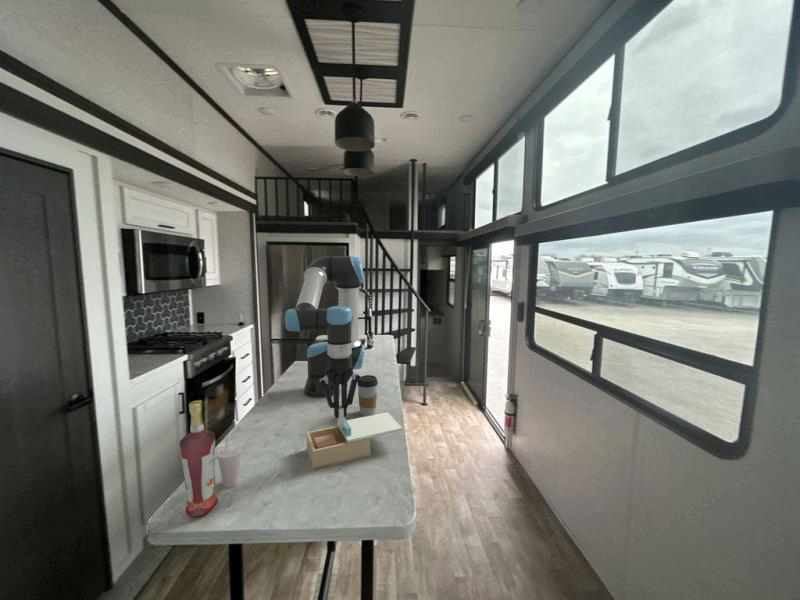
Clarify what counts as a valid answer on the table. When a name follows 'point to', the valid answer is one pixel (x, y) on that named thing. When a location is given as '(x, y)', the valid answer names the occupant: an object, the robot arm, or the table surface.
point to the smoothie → (229, 463)
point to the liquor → (199, 464)
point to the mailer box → (334, 448)
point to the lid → (369, 427)
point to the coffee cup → (367, 394)
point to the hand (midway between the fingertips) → (340, 426)
